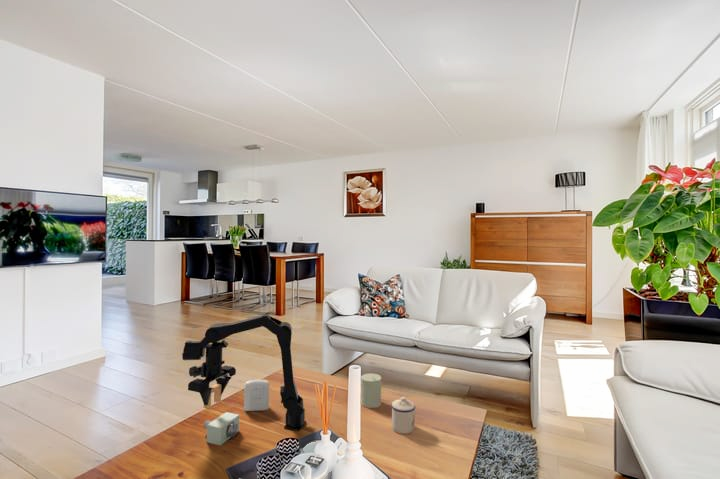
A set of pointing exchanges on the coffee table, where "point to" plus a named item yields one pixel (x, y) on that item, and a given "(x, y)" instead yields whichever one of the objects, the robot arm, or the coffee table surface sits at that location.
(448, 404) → the coffee table surface
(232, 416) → the block
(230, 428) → the pin
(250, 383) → the photo printer
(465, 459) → the coffee table surface
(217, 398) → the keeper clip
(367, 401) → the can
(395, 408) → the teacup with lid
